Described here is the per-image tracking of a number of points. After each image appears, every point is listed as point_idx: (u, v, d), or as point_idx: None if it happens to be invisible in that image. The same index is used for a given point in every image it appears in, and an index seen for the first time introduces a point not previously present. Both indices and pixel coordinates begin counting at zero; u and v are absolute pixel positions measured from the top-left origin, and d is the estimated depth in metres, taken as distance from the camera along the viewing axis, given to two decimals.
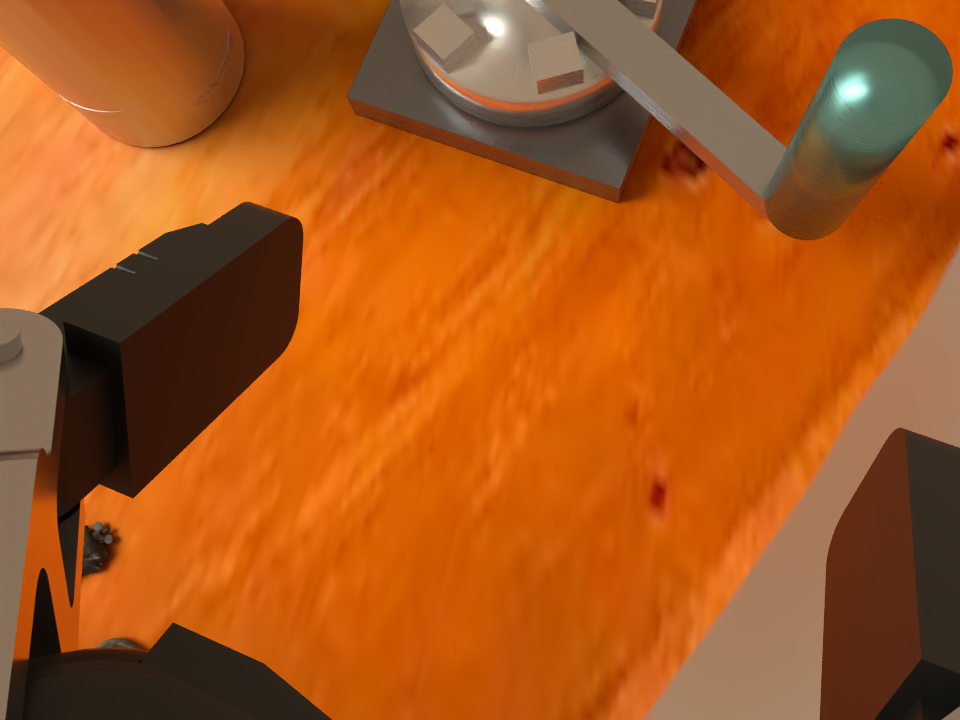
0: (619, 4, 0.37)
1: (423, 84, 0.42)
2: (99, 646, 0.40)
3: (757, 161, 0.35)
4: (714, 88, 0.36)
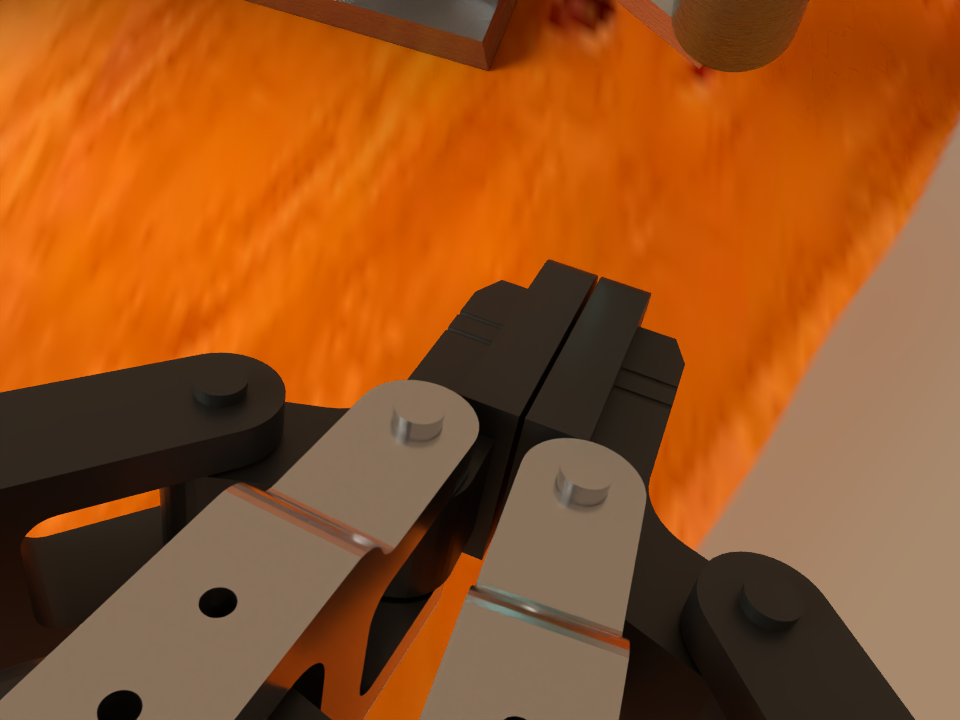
0: None
1: None
2: None
3: None
4: None
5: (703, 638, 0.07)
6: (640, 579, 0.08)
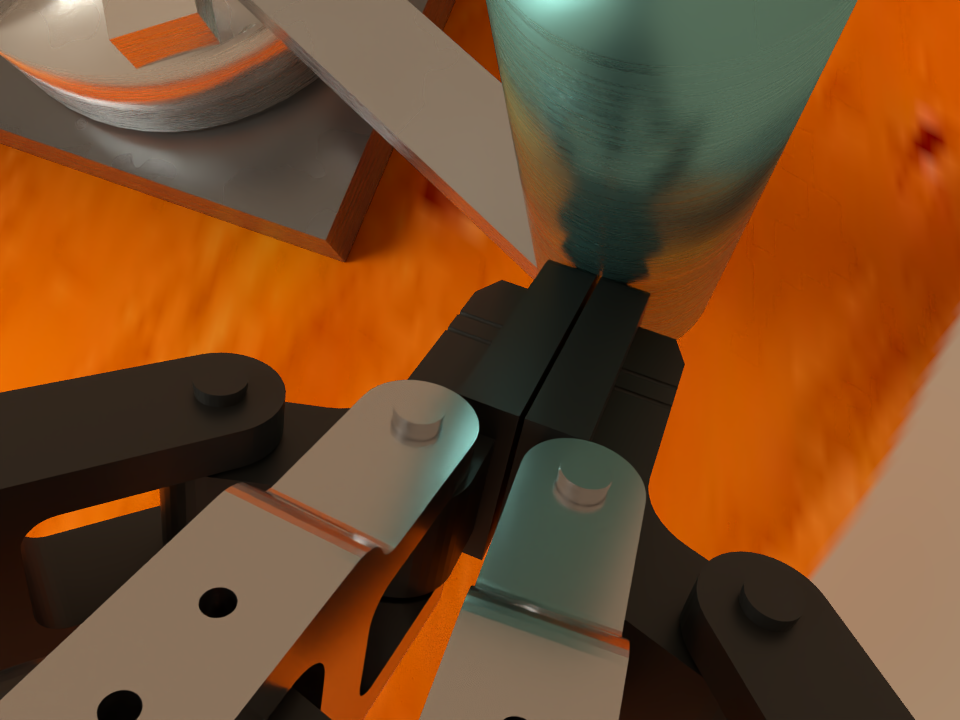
0: None
1: (4, 61, 0.24)
2: None
3: None
4: (447, 41, 0.18)
5: (703, 638, 0.07)
6: (640, 579, 0.08)
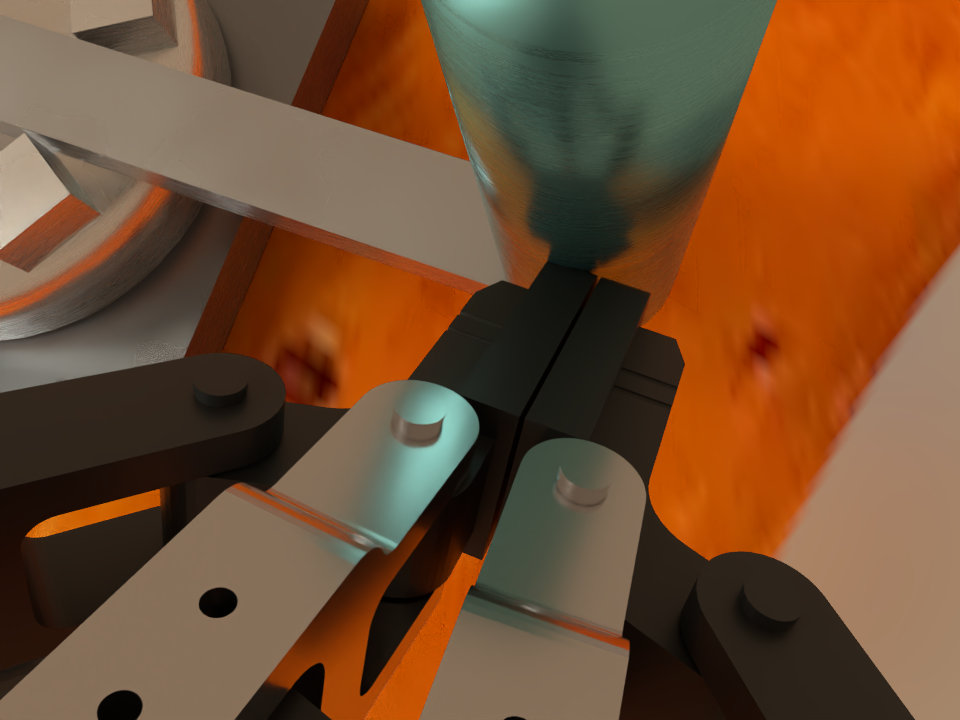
0: (89, 46, 0.18)
1: None
2: None
3: (465, 223, 0.17)
4: (325, 120, 0.18)
5: (703, 638, 0.07)
6: (640, 579, 0.08)
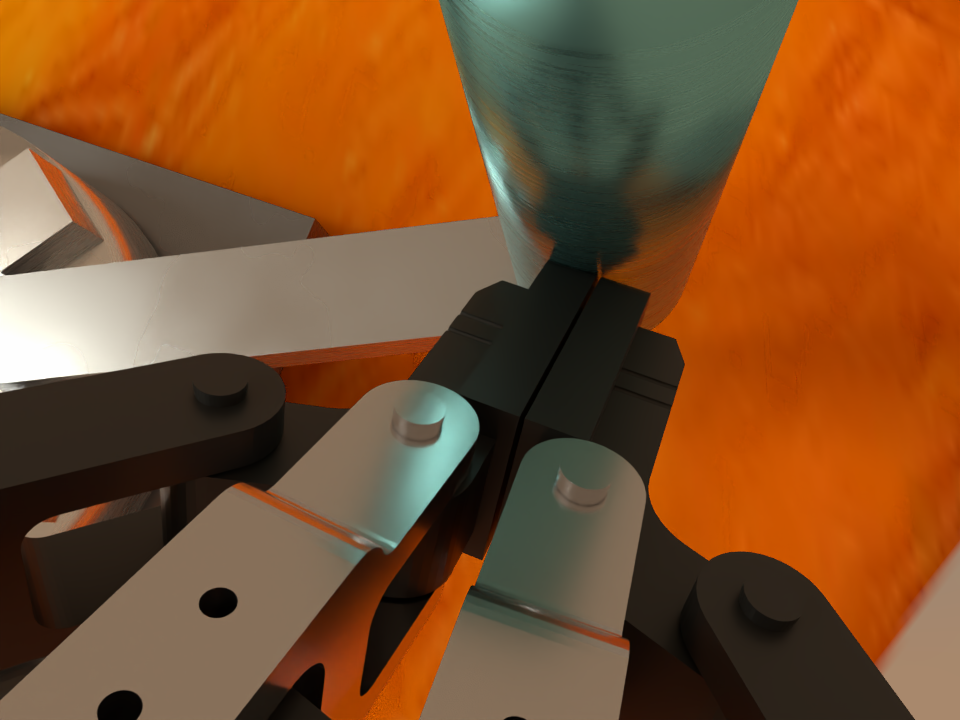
0: (22, 277, 0.18)
1: None
2: None
3: (469, 280, 0.17)
4: (289, 246, 0.17)
5: (702, 638, 0.07)
6: (640, 579, 0.08)
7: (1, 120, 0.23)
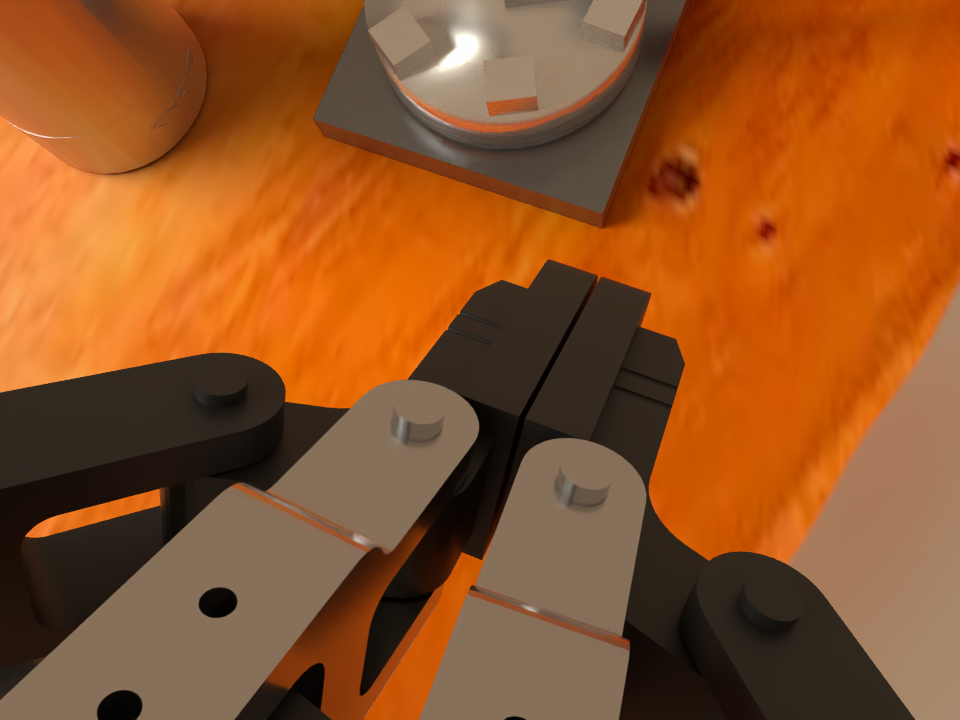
0: None
1: (394, 104, 0.40)
2: None
3: None
4: None
5: (703, 638, 0.07)
6: (640, 579, 0.08)
7: None
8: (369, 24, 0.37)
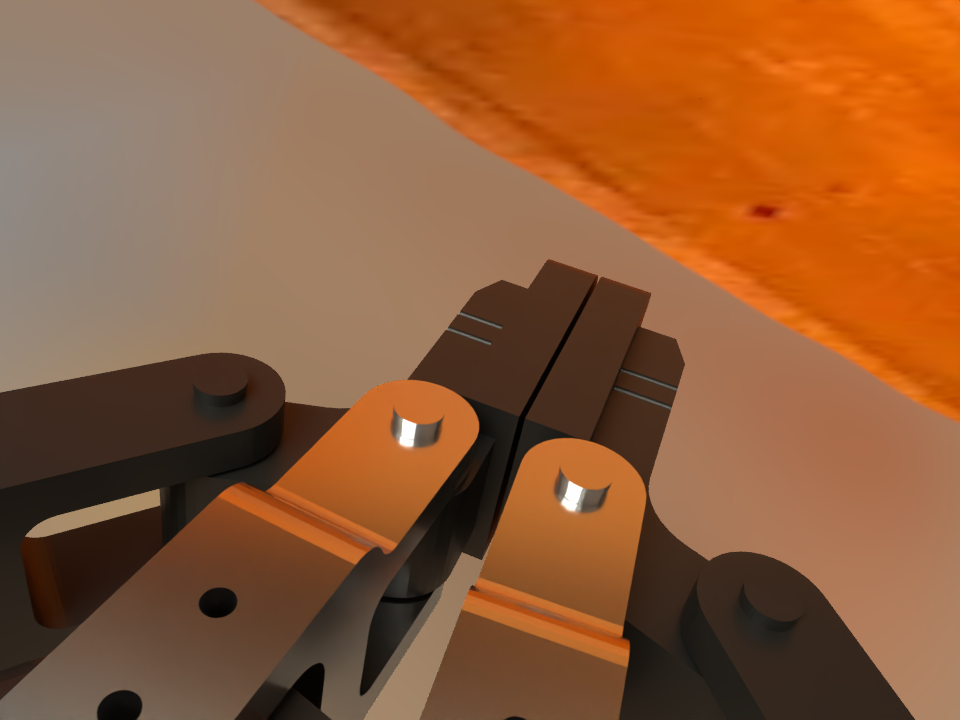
0: None
1: None
2: None
3: None
4: None
5: (703, 638, 0.07)
6: (640, 579, 0.08)
7: None
8: None
